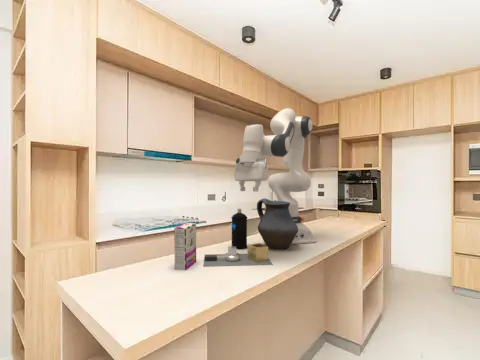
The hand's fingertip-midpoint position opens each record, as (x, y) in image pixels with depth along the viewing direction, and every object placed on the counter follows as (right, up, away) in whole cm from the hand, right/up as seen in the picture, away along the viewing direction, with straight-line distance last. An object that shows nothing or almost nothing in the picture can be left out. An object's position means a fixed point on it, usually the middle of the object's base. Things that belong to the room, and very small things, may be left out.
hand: (248, 191), depth 113 cm
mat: (-5, -30, -1) cm, 30 cm away
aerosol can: (-4, -30, +19) cm, 36 cm away
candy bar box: (-26, -30, -9) cm, 40 cm away
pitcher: (+15, -30, +21) cm, 40 cm away
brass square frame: (+4, -29, -1) cm, 30 cm away
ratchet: (-11, -29, -1) cm, 31 cm away
